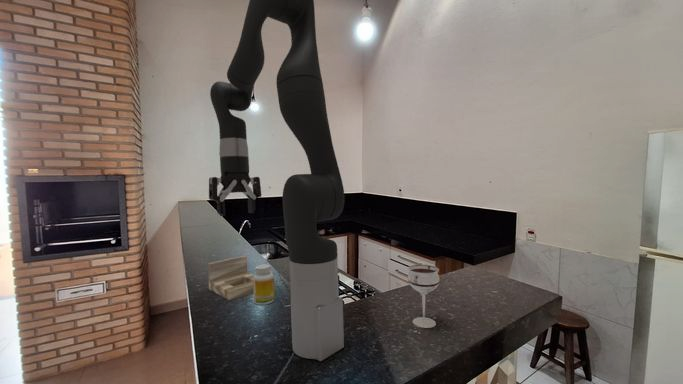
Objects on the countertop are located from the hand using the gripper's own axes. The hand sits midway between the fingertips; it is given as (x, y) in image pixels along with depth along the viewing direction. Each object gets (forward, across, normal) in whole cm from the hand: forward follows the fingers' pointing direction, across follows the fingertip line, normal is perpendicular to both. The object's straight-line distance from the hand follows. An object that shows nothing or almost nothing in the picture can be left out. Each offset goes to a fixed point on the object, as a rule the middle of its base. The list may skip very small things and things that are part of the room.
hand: (237, 214), depth 83 cm
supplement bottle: (+24, +3, -7) cm, 25 cm away
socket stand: (+23, +3, +7) cm, 24 cm away
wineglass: (+25, +19, -46) cm, 55 cm away
